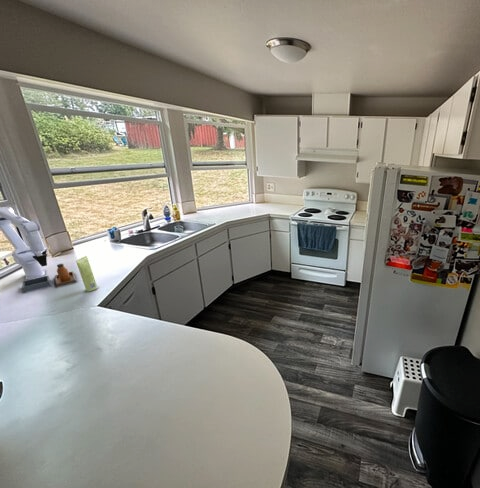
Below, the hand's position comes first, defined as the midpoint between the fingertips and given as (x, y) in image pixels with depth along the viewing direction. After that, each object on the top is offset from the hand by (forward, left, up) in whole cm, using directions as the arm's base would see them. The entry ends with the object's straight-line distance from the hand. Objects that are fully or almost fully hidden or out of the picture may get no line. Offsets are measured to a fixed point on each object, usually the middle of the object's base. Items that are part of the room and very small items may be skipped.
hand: (44, 264), depth 148 cm
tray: (+8, +6, -10) cm, 14 cm away
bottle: (+8, +6, -10) cm, 14 cm away
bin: (+7, -5, -10) cm, 13 cm away
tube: (+32, +16, -11) cm, 37 cm away
